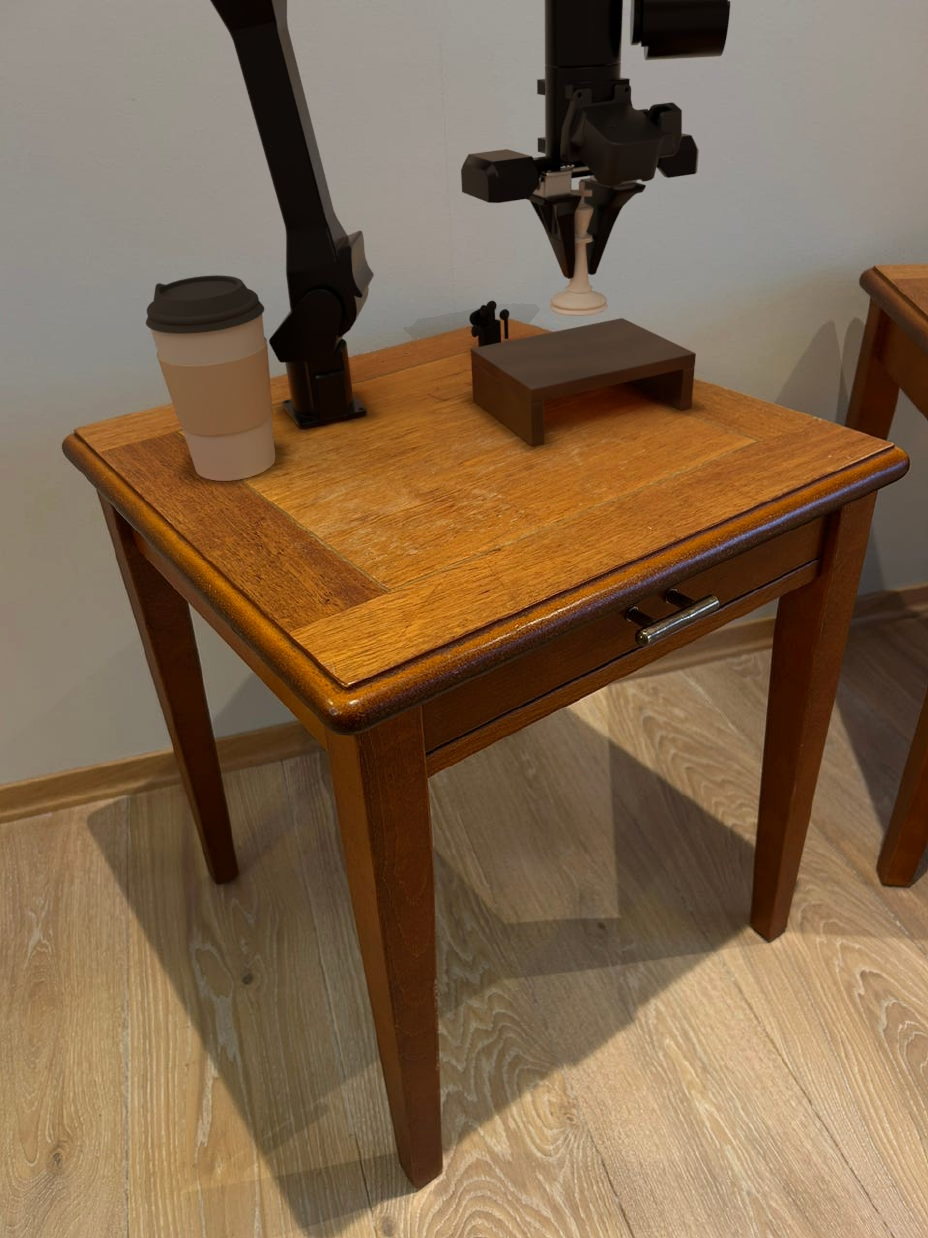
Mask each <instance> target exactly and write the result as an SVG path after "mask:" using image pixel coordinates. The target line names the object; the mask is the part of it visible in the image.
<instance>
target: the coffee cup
mask: <svg viewBox="0 0 928 1238" xmlns="http://www.w3.org/2000/svg"><path fill="white" fill-rule="evenodd" d="M153 294H154V295H153V300H152V301H151V303H149V304H148V306H147V308H146V314H147V317H146V319H145V320H146V321H145V325H146V327H148V328H149V329H150V331H151V332H150V333H151V335H152V339H153V341H154V345H155V347H156V358H157V360H158V364H159V366H160V370H161V373H162V376H163V377H164V379H163V380H164V381H165V385H166V388H167V391H168V394H169V396H170V400H171V403H172V406H173V408H174V411H175V415H176V418H177V421H178V424H179V426H180V428H182V432H183V435H184V438H185V441H186V445H187V447H188V448H187V449H188V451H189V454H190V457H191V460H192V464H193V466H194V469H195V472H196V474H197V475H199V476H200V477H201V478H203V479H207V480H209V481H210V480H211V481H217V482H228V481H237V480H238V481H239V480H244V479H248V478H252V477H254V476H257V475H260V474H262V473H264V472H266V471H268V470H269V468H271V467H272V466H273V465H274V464H275V462H276V449H275V437H274V430H273V429H274V427H273V416H272V414H273V400H272V399H273V397H272V386H271V373H270V362H269V350H268V347H269V346H268V339H267V338H266V336H265V331H264V320H263V313H264V312H265V306H264V305H263V304H262V302H261V301H260V300H259V299H260V298H259V295H258V294H257V293H256V291H254V290H252V289H250V288H248V287H247V286H246V284H245V283H244V281H243V280H242V279H240V278H238V277H235V276H231V275H219V274H218V275H215V274H213V275H201V276H194V277H187V278H183V279H179V280H175V281H172V282H169V283H167V284H165V283H161V282H159V283H156V284H155V286H154V293H153Z"/></svg>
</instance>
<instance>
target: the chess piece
mask: <svg viewBox="0 0 928 1238" xmlns="http://www.w3.org/2000/svg"><path fill="white" fill-rule="evenodd" d="M571 193H574V194H577V195H580V196H582V198H581V201H580V203H579V205H578V207H577V210H576V212H575V269H574V277H573V278H572V279H569V281H568V285H566V286H565V290H563V291H561V292H558V293H556V294H554V295H553V296H552V297H551V298H550V305H549V309H550V310H551V311H552V312H554V313H555V314H559V315H564V316H571V317H573V316H574V317H578V316H579V317H580V316H581V317H583V316H591V315H596V314H601V313H603V312H605V311H606V310H607V309H608V303H607V302H608V298H607V296H606V295H604V294H603V293H601V292H598V291H595V290H593V289H594V288H593V286H592V285H590V279H589V274H588V268H587V256H586V243H589V242H592V241H593V238H592V237H593V236H592V235H589V234H587V232H586V231H587V228H588V226H589V222H590V219H591V216H592V214H593V210H594V209H593V207H592V206H591V205H587V204H586V203H584V196H592V190H585V181H580V180H579V181H578V189H571Z"/></svg>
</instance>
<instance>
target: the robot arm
mask: <svg viewBox="0 0 928 1238" xmlns="http://www.w3.org/2000/svg"><path fill="white" fill-rule="evenodd" d="M209 1H210V3H211V4H212V6H213V8H214V9H215V11H216V13H217V14H218V16H219V18H220V19H221V21H222V23H223V24H224V26H225V28H226V29H227V31H228V33H229V35H230V38H231V39H232V42H233V45H234V49H235V52H236V56H237V59H238V63H239V67H240V70H241V74H242V78H243V81H244V84H245V88H246V92H247V95H248V99H249V103H250V107H251V109H252V113H253V117H254V120H255V124H256V127H257V132H258V135H259V138H260V141H261V146H262V149H263V152H264V156H265V160H266V163H267V167H268V170H269V174H270V177H271V182H272V185H273V188H274V192H275V194H276V198H277V203H278V206H279V210H280V214H281V217H282V220H283V221H282V222H283V224H284V228H285V249H286V250H285V276H286V284H287V291H288V301H289V309H290V311H289V312H288V313H287V315H286V316H285V317H284V319H282V322H281V323H280V324H279V325H278V327H277V329H275V331H274V332H273V334H272V335H271V337H270V338H269V339H268V343H269V345H270V347H271V349H272V351H273V353H274V355H275V356H276V359H277V360H278V362H279V363H281V364H282V363H283V364H284V363H285V370H286V375H287V381H288V382H287V383H288V388H289V392H290V399H284V400H283V401H281V405H282V408H283V410H285V412H286V413H287V414H288V416H289V417H290V418H291V419H292V420H293V422H294V423H295V424H296V426H297V427H298V428H299V429H304V428H305V429H306V428H310V427H315V426H319V425H320V426H321V425H324V424H329V423H334V422H338V421H342V420H347V419H352V418H357V417H360V416H365V415H367V414H368V410H367V409H368V408H366V406H365V405H364V404H363V403H362V402H361V401H360V400H359V399H358V398H357V397H356V395H354V392H353V391H354V390H353V382H352V375H351V366H350V360H349V359H350V358H349V350H348V343H347V341H346V339H344V338H343V337H344V335H346V334H347V333H348V332H349V331H350V330H351V329H352V327H353V326H354V324H355V323H356V321H357V319H358V317H359V315H360V313H361V312H362V309H363V308H364V306H365V304H366V302H367V300H368V296H369V291H370V288H369V286H370V283H371V282H372V280H373V279H374V276H375V274H374V272H373V270H372V269H371V267H370V266H369V264H368V260H367V258H366V252H365V251H366V250H365V240H364V233H363V230H358V231H355V232H353V233H350V234H347V231H345V228H344V227H343V225H342V224H341V222H340V220H339V218H338V216H337V215H336V212H335V210H334V205H333V202H332V198H331V194H330V189H329V185H328V182H327V178H326V173H325V171H324V166H323V161H322V159H321V153H320V150H319V146H318V142H317V138H316V134H315V131H314V126H313V122H312V117H311V115H310V110H309V107H308V103H307V102H308V101H307V98H306V94H305V90H304V85H303V83H302V77H301V75H300V71H299V67H298V63H297V58H296V54H295V51H294V47H293V43H292V39H291V34H290V31H289V25H288V0H209ZM623 7H624V0H544V78H540V79H539V78H538V79H536V94H537V95H540V96H544V136H543V137H537V152H538V153H541V154H544V156H537V157H533V156H532V155H529V154H525V153H522V152H518V151H514V150H511V149H508V148H506V149H498V150H490V151H483V152H475V153H468V154H467V156H466V158H465V160H464V161H463V164H462V167H461V168H460V177H461V180H460V181H461V192H462V193H463V194H466V195H468V196H471V197H473V198H476V199H478V200H481V201H483V202H486V203H488V204H501V203H502V204H503V203H508V202H516V201H521V200H527V201H529V202H530V204H531V206H532V208H533V210H534V212H535V213H536V216H537V217H538V219H539V221H540V223H541V225H542V227H543V229H544V231H545V234H546V235H547V238H548V241H549V243H550V246H551V248H552V251H553V253H554V256H555V258H556V262H557V263H558V266H559V268H560V270H561V273H562V276H564V278H566V279H568V280H570V279H572V278H573V277H574V269H575V212H576V210H577V207H578V205H579V203H580V201H581V198H582V196H580V195H577V194H574V193H571V190H572V179H578V178H579V179H580V180H579V181H585V190H592V196H584V203H586V204H587V205H591V206H592V207H593V209H594V210H593V214H592V216H591V219H590V222H589V226H588V228H587V231H586V232H587V234H589V235H592V236H593V237H592V238H593V241H592V242H589V243H586V256H587V268H588V275H590V276H593V275H596V274H597V272H598V268H599V266H600V263H601V260H602V258H603V256H604V252H605V251H606V250H605V249H606V247H607V244H608V242H609V239H610V236H611V233H612V230H613V228H614V225H615V223H616V221H617V219H618V217H619V215H620V213H621V211H622V210H623V207H624V206H625V205H626V204H627V203H628V202H629V201H630V200H631V199H632V198H633V197H634V196H635V195H637V194H642V193H643V192H644V191H645V189H646V187H647V185H646V184H644V183H640V182H638V181H641V182H649V181H652V180H653V179H654V178H655V175H656V171H657V170H658V171H659V172H660V173H661V175H662V176H663V177H664V178H667V179H670V178H676V177H677V178H678V177H685V176H690V175H696V174H697V173H698V165H699V152H700V150H699V148H698V145H697V143H696V140H695V139H694V137H693V135H692V134H687V133H683V110H682V109H681V108H680V107H679V106H678V105H676V103H675V102H664V103H663V102H662V103H655V104H652V105H651V106H650V107H649V109H648V108H643V109H636V108H634V107H633V102H632V86H631V84H630V81H631V79H630V78H627V77H621V73H622V72H621V71H622V43H623V41H622V40H623V14H624V13H623V12H624V11H623V9H624V8H623ZM730 15H731V1H730V0H630V13H629V41H630V46H638V45H639V44H640V48H643V56H644V57H643V58H644V60H645V61H655V60H656V61H658V60H674V59H675V60H676V59H693V58H694V59H695V58H714V57H722V55H723V54H724V50H725V47H726V43H727V38H728V30H729V23H730ZM585 177H588V178H585Z"/></svg>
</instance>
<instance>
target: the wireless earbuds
mask: <svg viewBox="0 0 928 1238" xmlns="http://www.w3.org/2000/svg"><path fill="white" fill-rule="evenodd" d="M497 306H498V305H497V302H496V301H495V300H490V301H487V303H486V304H482V305H481V306H480V308H477V309H476V310H474V311H472V312H471V314H470V315H469V318H468V319H469V323H470V325H471V329H470V334H471V337H473V338H476V337H477V342H478V343H477V344H478V346H477V347H481V346H486V345H491V344H496V343H501V342H502V325H501V323H502V322H501V321H503V333H504V334H503V337H504V340H509V336H510V335H509V317H510V311H509V310H508V309H507V308H504V309H501V310H500V311H499V314H498V317H499V318H500V319H501V320H499V319H496V310H497Z"/></svg>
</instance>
